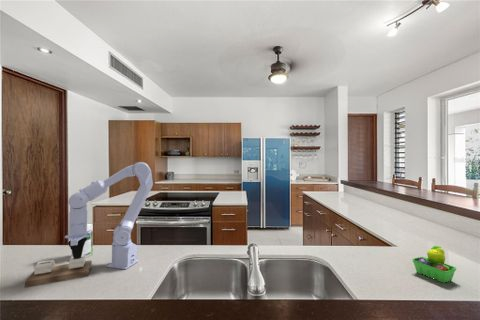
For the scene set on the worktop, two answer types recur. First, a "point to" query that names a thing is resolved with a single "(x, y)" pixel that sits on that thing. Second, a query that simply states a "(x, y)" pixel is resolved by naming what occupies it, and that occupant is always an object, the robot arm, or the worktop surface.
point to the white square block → (77, 262)
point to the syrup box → (88, 241)
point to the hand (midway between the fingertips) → (77, 258)
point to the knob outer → (44, 267)
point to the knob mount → (58, 274)
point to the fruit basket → (434, 265)
